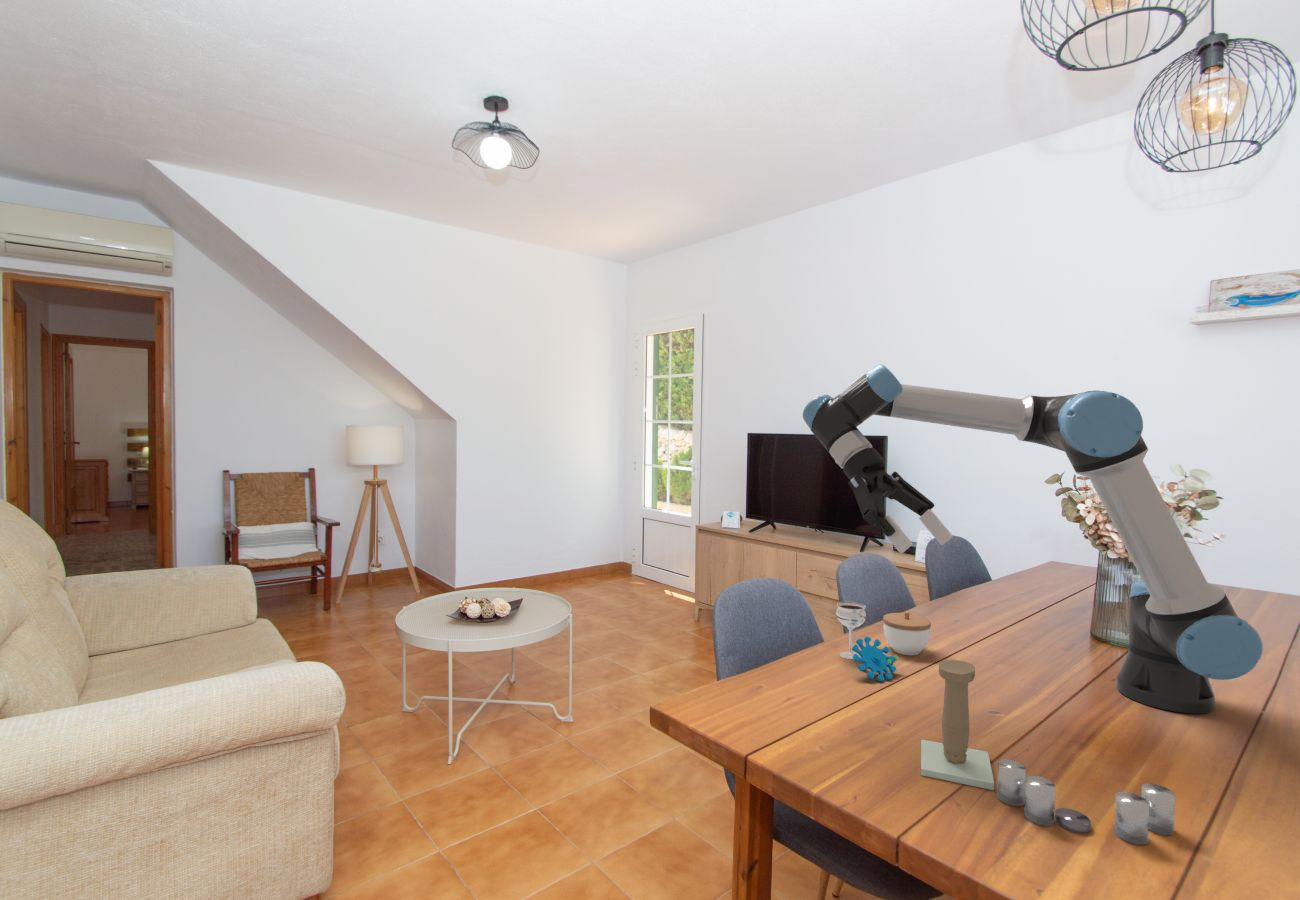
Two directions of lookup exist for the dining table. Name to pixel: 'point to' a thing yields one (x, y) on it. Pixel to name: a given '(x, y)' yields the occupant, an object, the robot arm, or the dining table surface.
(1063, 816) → the disc
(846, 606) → the wineglass
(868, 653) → the gear
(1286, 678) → the dining table surface
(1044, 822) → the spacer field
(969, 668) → the handle
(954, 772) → the pad
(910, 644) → the lidded jar
